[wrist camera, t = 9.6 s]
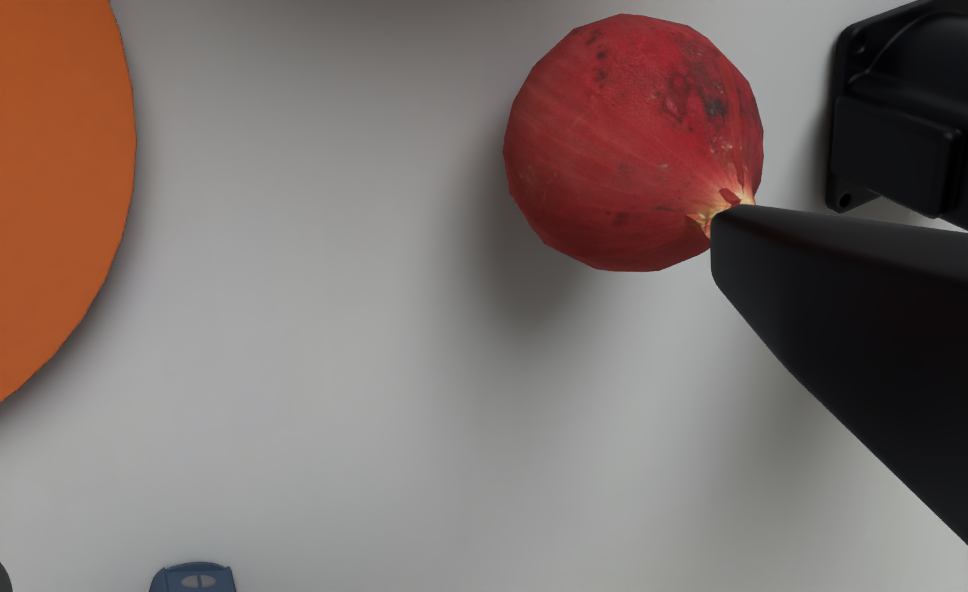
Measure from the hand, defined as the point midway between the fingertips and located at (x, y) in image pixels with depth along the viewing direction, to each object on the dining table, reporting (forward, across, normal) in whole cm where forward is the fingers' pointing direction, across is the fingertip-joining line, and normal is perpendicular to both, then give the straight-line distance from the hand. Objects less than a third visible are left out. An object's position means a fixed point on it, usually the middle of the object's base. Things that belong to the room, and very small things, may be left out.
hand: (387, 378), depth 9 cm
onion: (+12, -8, +3) cm, 14 cm away
